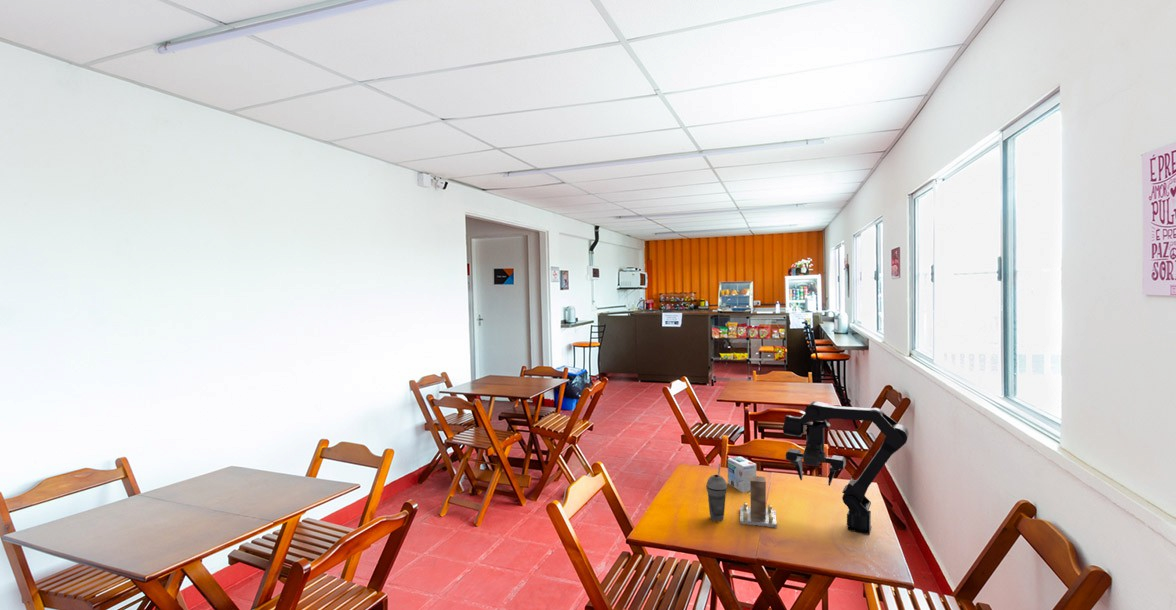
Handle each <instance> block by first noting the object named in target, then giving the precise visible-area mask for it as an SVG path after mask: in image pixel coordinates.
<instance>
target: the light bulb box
mask: <svg viewBox="0 0 1176 610" xmlns="http://www.w3.org/2000/svg"><path fill="white" fill-rule="evenodd" d="M750 476H757V463H755V462H753V461H751V460H749V459H747V458H745V457H743V456H735V457H729V458H727V485H729V486H732V487H733V488H735V489H737V491H739V492H741V493H743V492H744V493H750V492H749V491H750Z"/></svg>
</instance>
